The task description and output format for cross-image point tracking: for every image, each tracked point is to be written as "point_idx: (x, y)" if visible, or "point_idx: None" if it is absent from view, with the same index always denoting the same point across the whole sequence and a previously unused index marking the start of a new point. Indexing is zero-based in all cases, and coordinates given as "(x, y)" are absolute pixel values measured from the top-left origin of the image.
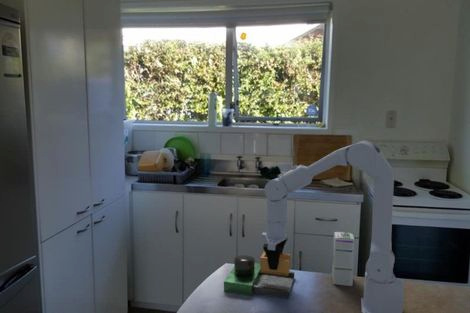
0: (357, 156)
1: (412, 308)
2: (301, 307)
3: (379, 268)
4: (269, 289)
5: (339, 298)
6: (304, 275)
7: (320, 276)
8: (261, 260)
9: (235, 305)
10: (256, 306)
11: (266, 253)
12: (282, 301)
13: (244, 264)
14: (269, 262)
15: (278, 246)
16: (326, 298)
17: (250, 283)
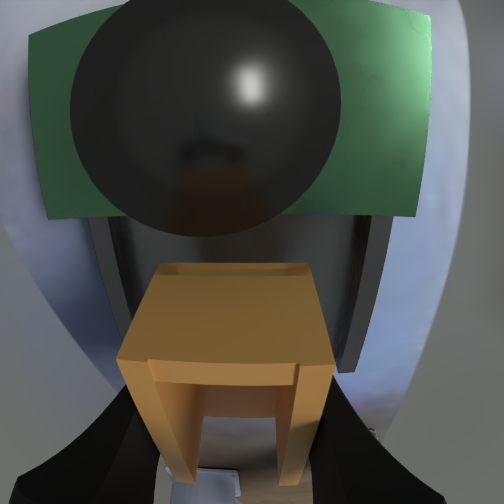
0: None
1: (236, 498)
2: (110, 378)
3: None
4: (108, 297)
5: (224, 446)
6: (379, 372)
7: (372, 408)
8: (129, 345)
9: None
10: (23, 242)
11: (56, 458)
12: (109, 328)
13: (82, 147)
14: (124, 399)
15: (321, 500)
16: (208, 428)
17: (64, 204)
